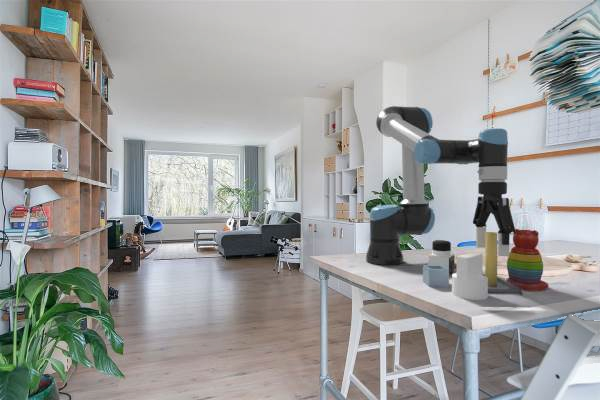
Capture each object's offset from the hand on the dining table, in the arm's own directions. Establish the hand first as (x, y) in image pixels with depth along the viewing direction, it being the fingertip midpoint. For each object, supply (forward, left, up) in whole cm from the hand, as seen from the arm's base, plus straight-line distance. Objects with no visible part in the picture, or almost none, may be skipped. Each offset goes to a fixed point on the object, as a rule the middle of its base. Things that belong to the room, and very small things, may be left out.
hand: (491, 251), depth 105 cm
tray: (0, 0, -11) cm, 11 cm away
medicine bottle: (-17, -9, -12) cm, 22 cm away
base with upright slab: (+9, -10, -12) cm, 18 cm away
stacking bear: (-2, +11, -12) cm, 16 cm away
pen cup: (-2, -16, -11) cm, 20 cm away
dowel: (0, 0, -10) cm, 10 cm away
